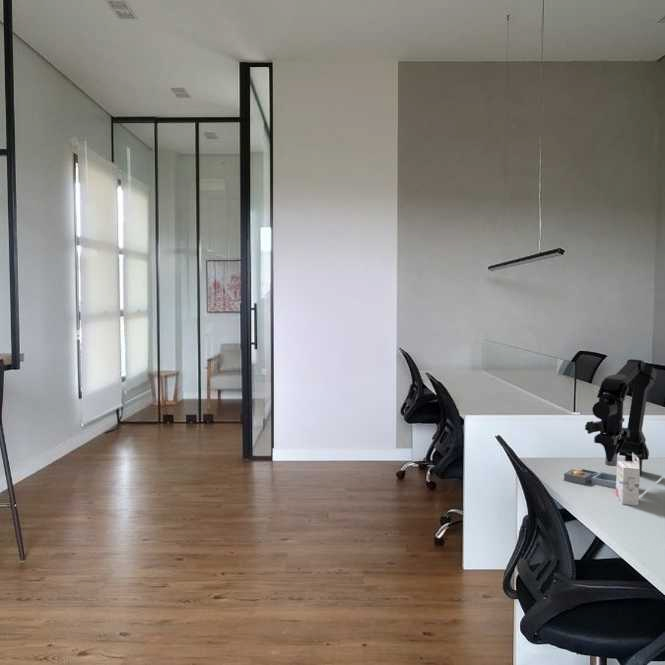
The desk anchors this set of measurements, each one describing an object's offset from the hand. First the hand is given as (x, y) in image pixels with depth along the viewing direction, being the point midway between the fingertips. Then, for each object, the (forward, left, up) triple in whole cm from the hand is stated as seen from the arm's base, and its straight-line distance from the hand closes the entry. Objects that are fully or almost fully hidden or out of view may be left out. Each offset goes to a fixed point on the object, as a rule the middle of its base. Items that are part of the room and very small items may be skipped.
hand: (611, 460), depth 206 cm
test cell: (0, 0, -1) cm, 1 cm away
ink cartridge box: (+13, +9, -9) cm, 18 cm away
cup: (0, 0, -8) cm, 8 cm away
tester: (0, -9, -8) cm, 12 cm away
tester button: (+5, -9, -7) cm, 13 cm away
